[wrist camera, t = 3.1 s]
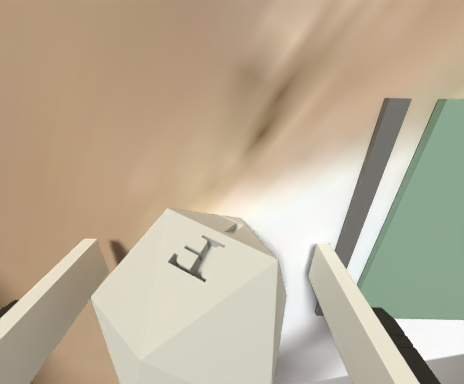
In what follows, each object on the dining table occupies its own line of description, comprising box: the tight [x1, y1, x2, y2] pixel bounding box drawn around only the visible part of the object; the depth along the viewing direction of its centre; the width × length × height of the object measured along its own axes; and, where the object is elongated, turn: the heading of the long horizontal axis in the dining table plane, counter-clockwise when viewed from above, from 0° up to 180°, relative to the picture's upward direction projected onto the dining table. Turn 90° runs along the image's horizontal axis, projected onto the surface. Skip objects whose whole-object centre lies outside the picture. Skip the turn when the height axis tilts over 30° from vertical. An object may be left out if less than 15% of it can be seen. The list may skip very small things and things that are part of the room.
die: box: [91, 208, 286, 384], centre depth 10 cm, size 8×9×10 cm
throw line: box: [315, 98, 412, 316], centre depth 13 cm, size 1×16×1 cm, turn 179°
